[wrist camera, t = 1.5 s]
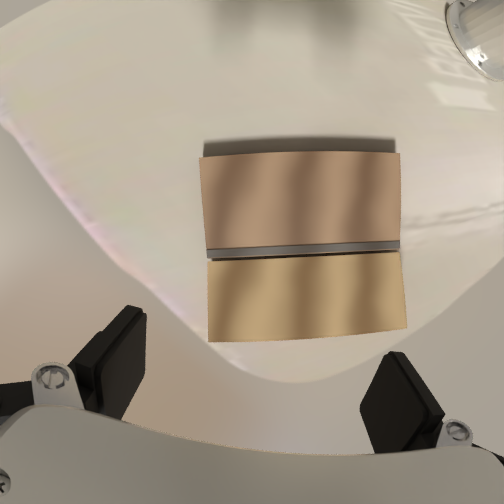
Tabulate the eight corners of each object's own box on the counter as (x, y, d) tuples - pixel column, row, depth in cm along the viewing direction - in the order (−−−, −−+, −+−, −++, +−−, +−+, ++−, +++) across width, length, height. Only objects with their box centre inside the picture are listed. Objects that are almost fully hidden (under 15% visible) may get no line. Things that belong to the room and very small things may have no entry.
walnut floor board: (394, 153, 28) (400, 153, 27) (393, 245, 31) (399, 249, 29) (202, 158, 29) (198, 157, 28) (210, 254, 32) (207, 258, 30)
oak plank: (394, 255, 31) (399, 252, 29) (401, 328, 29) (407, 328, 27) (210, 264, 32) (207, 261, 30) (211, 341, 30) (208, 342, 28)
